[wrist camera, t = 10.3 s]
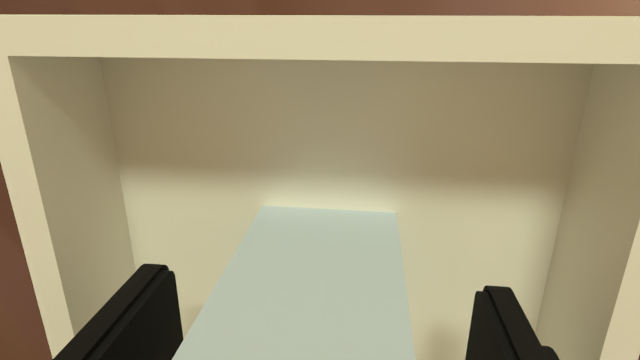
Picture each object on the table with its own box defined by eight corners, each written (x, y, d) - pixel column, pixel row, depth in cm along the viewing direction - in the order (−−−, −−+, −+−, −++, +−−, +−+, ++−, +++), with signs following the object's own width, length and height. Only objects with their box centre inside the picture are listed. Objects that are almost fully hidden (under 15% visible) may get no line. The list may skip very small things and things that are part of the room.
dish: (524, 437, 16) (571, 563, 12) (150, 400, 18) (90, 502, 14) (620, 18, 11) (749, 16, 7) (84, 16, 12) (-39, 14, 9)
